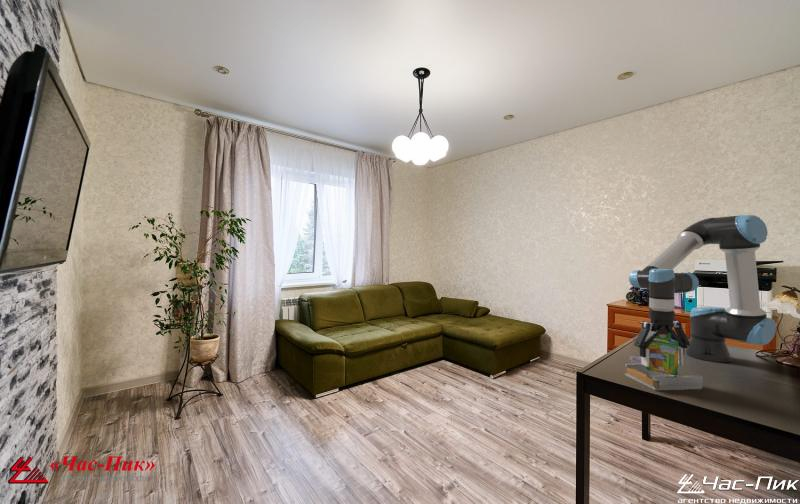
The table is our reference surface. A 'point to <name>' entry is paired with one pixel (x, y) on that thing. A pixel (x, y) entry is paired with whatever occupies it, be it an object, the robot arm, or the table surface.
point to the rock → (635, 359)
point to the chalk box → (663, 355)
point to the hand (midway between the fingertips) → (662, 364)
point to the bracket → (662, 379)
